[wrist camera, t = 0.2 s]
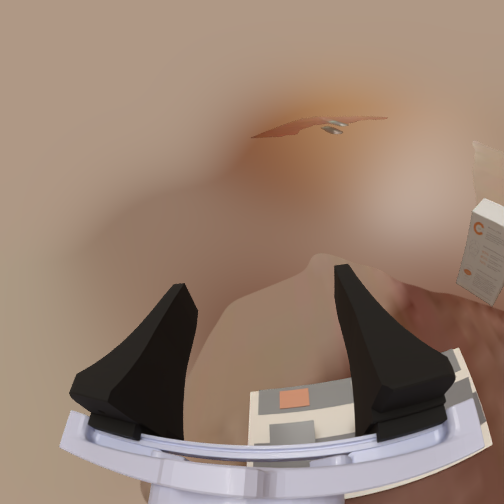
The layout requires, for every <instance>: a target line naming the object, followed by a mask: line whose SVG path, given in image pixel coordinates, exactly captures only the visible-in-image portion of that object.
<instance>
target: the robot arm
mask: <svg viewBox="0 0 504 504" xmlns="http://www.w3.org/2000/svg"><path fill="white" fill-rule="evenodd" d="M334 278H335V295H334V297H335V303H336V309H337V315H338V319H339V323H340V327H341V330H342V334H343V338H344V342H345V346H346V350H347V354H348V358H349V364H350V371H351V379H352V389H353V400H354V414H355V437H354V438H348V439H341V440H334V441H327V442H318V443H307V444H294V445H270V446H247V445H223V444H209V443H199V442H190V441H184V435H183V401H184V387H185V377H186V370H187V365H188V361H189V357H190V352H191V348H192V344H193V340H194V336H195V331H196V326H197V317H198V310H197V308H196V306H195V304H194V302H193V300H192V298H191V296H190V293H189V292H188V289H187V287H186V285H185V283H183V284H174V285H173V286H172V287H171V288H170V289H169V290H168V292H167V293H166V294H165V295H164V296H163V298H162V299H161V300H160V301H159V303H158V304H157V305H156V306H155V308H154V309H153V310H152V311H151V312H150V314H149V315H148V316H147V317H146V318H145V319H144V320H143V322H142V323H141V324H140V325H139V326H138V327H137V328H136V329H135V330H134V331H133V332H132V333H131V334H130V335H129V336H128V337H127V338H126V339H125V340H124V341H123V342H122V343H121V344H120V345H118V346H117V347H116V348H115V349H114V350H112V351H111V352H110V353H109V354H107V355H106V356H105V357H103V358H102V359H101V360H99V361H98V362H96V363H95V364H93V365H92V366H90V367H88V368H87V369H85V370H83V371H81V372H79V373H78V374H77V375H76V377H75V379H74V382H73V384H72V387H71V390H70V392H69V394H70V396H71V398H72V399H74V400H75V401H76V402H77V403H79V404H80V405H81V406H83V407H84V408H85V409H87V410H88V411H90V412H91V415H90V417H89V416H87V415H84V414H82V413H79V412H76V411H73V410H71V412H70V414H69V418H68V421H67V423H66V427H65V430H64V433H63V436H62V439H61V443H60V448H61V449H63V450H65V451H67V452H69V453H71V454H73V455H76V456H78V457H80V458H82V459H84V460H87V461H89V462H91V463H94V464H96V465H99V466H101V467H103V468H106V469H109V470H112V471H114V472H117V473H120V474H123V475H126V476H129V477H132V478H135V479H139V480H142V481H145V482H149V483H152V484H151V490H150V496H149V502H148V504H345V500H344V494H347V493H353V492H358V491H364V490H369V489H373V488H378V487H382V486H386V485H390V484H394V483H397V482H401V481H404V480H408V479H411V478H414V477H417V476H420V475H423V474H426V473H429V472H431V471H434V470H437V469H439V468H442V467H444V466H447V465H449V464H451V463H454V462H456V461H458V460H460V459H463V458H465V457H467V456H469V455H471V454H473V453H475V452H477V451H479V450H481V449H483V448H484V447H485V444H484V439H483V434H482V430H481V426H480V421H479V418H478V414H477V410H476V406H475V403H474V399H473V398H470V399H468V400H466V401H463V402H461V403H458V404H456V405H453V406H451V407H449V408H447V409H446V410H445V406H444V404H445V403H446V398H445V395H444V394H445V393H446V392H447V391H448V390H449V388H450V387H451V386H452V385H453V383H454V382H455V380H456V375H455V372H454V370H453V367H452V365H451V363H450V361H449V359H448V357H447V356H445V355H443V354H442V353H440V352H438V351H436V350H435V349H433V348H431V347H430V346H428V345H427V344H425V343H424V342H422V341H421V340H419V339H418V338H417V337H415V336H414V335H413V334H412V333H410V332H409V331H408V330H406V329H405V328H404V327H403V326H402V325H400V324H399V323H398V322H397V321H396V320H395V319H394V318H393V317H392V316H391V315H390V314H389V313H388V312H387V311H386V310H385V309H384V308H383V307H382V306H381V305H380V304H379V303H378V302H377V301H376V300H375V298H374V297H373V296H372V295H371V294H370V292H369V291H368V290H367V289H366V288H365V286H364V285H363V284H362V283H361V281H360V280H359V279H358V277H357V276H356V275H355V273H354V272H353V270H352V269H351V267H350V266H349V265H348V264H343V265H336V266H334ZM173 454H175V455H173ZM177 455H181V456H187V457H195V458H203V459H212V460H223V461H240V462H288V461H305V460H313V461H311V462H310V467H301V468H271V467H247V466H232V465H219V464H209V463H199V462H192V461H189V460H187V459H186V458H184V457H181V456H177ZM347 455H348V456H347ZM316 459H318V460H316Z"/></svg>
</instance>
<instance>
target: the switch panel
mask: <svg viewBox="0 0 504 504" xmlns="http://www.w3.org/2000/svg"><path fill="white" fill-rule="evenodd" d="M442 354H443V355H445V356H447V357H448V359H449V361H450V363H451V365H452V367H453V370H454V372H455V375H456V380H455V382H457V381H460V380H462V379H464V378H467V377H469V381H470V385H471V389H472V393H473V398H474V402H475V406H476V410H477V414H478V418H479V421H480V426H481V430H482V434H483V439H484V444H485V447H484V448H483V449H481V450H479V451H477V452H475V453H473V454H471V455H469V456H467V457H465V458H463V459H460V460H458V461H456V462H454V463H451V464H449V465H447V466H444V467H442V468H439V469H437V470H434V471H431V472H429V473H426V474H423V475H420V476H417V477H414V478H411V479H408V480H404V481H401V482H397V483H394V484H390V485H386V486H382V487H378V488H373V489H369V490H364V491H358V492H353V493H347V494H344V499H348V498H353V497H358V496H363V495H367V494H371V493H376V492H380V491H383V490H387V489H391V488H394V487H397V486H401V485H404V484H407V483H410V482H413V481H416V480H418V479H421V478H424V477H426V476H429V475H432V474H434V473H437V472H439V471H441V470H444V469H446V468H448V467H450V466H453V465H455V464H457V463H459V462H461V461H463V460H465V459H467V458H469V457H471V456H473V455H475V454H477V453H478V452H480V451H482V450H484V449H485V448H487V447H489V446H491V445H492V440H491V436H490V433H489V429H488V425H487V422H486V419H485V415H484V412H483V409H482V406H481V403H480V400H479V397H478V394H477V392H476V389H475V386H474V383H473V381H472V378H471V376H470V373H469V371H468V368H467V366H466V363H465V361H464V359H463V356H462V354H461V352H460V350H459V348H456V349H454V350H453V349H451V350H448V351H445V352H443V353H442ZM455 382H454V383H455ZM309 420H314V427H315V441H316V443H318V442H327V441H334V440H341V439H348V438H354V437H355V414H354V400H353V389H352V379H351V378H346V379H341V380H336V381H330V382H324V383H318V384H311V385H304V386H296V387H288V388H279V389H268V390H259V391H257V392H251V393H250V414H249V434H248V446H270V431H269V424H281V423H292V422H301V421H309ZM347 456H348V455H347ZM317 460H318V459H317ZM247 467H271V465H270V462H247Z"/></svg>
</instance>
